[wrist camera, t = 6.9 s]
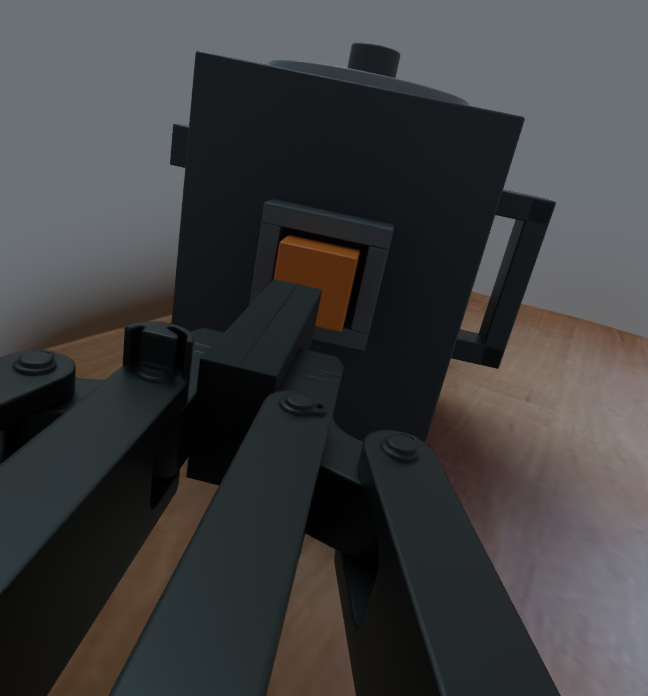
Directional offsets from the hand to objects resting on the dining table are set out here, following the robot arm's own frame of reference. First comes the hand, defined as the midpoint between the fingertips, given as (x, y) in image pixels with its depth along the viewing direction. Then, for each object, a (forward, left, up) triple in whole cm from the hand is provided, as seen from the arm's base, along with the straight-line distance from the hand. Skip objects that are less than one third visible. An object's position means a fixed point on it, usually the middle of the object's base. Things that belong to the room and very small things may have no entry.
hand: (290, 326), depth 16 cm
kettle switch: (0, +5, -1) cm, 5 cm away
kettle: (0, +14, -10) cm, 17 cm away
